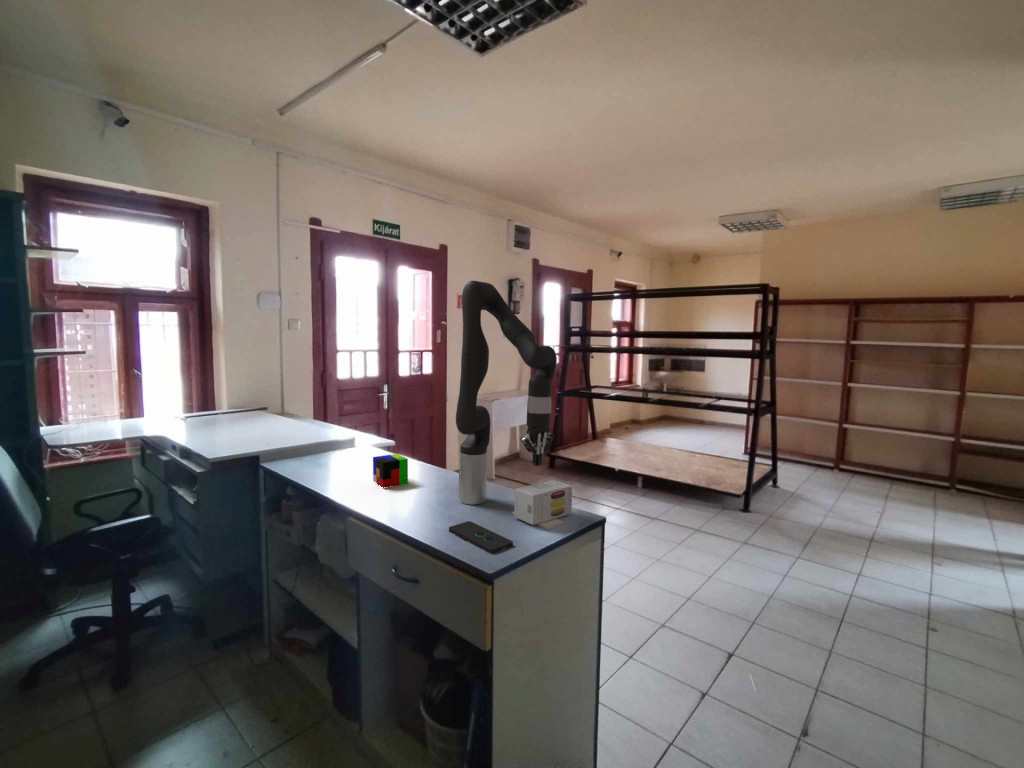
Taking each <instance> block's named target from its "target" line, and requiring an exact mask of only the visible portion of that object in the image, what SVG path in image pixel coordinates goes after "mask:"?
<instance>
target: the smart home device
mask: <svg viewBox="0 0 1024 768" xmlns="http://www.w3.org/2000/svg"><path fill="white" fill-rule="evenodd" d="M448 532H449V533H451V534H452V533H453V535H454V534H455V535H454V536H456V535H457V536H456V537H458V536H459V537H458V538H460V539H462V540H463V541H465V542H467V541H468V543H469V542H470V543H469V544H471V545H473V546H475V547H477V548H479V549H481V550H482V549H483V550H482V551H484V550H485V551H484V552H486V553H488V554H490V553H491V555H493V554H496V553H499V552H501V551H502V552H503V551H504V550H507V549H509V548H512V547H513V546H514V542H513V540H510V539H509V538H506V537H504V536H502V535H501V534H499V533H497V532H494V531H492V530H489V529H488V528H485V527H483V526H481V525H479V524H477V523H475V522H474V521H471V520H470V521H469V520H468V521H464V522H461V523H458V524H455V525H450V526H449V527H448Z"/></svg>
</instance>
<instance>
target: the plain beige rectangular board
mask: <svg viewBox="0 0 1024 768" xmlns="http://www.w3.org/2000/svg"><path fill="white" fill-rule="evenodd" d="M514 513H515V510H514V511H512V515H514ZM563 524H564V521H563V520H559V519H558V518H554V519H551V520H548V521H544V522H541V523H538V524H535V525H536V526H538V525H539V527H541V528H543V529H545V530H549V529H552V528H554V527H557V526H561V525H563Z"/></svg>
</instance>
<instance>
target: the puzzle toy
mask: <svg viewBox="0 0 1024 768" xmlns="http://www.w3.org/2000/svg"><path fill="white" fill-rule="evenodd" d="M408 461H409V458H407V457H405V456H403V455H402V454H399V453H394V454H393V453H392V454H385V455H379V456H373V457H372V477H373V478H372V482H373V481H374V482H376V483H377V484H378V485H377V484H376V483H375V484H376V485H377V486H379V485H380V486H381V487H383V488H382V489H385V488H384V487H389V488H391V487H390V486H394V487H399V485H400V486H404V485H408V483H409V475H408V474H409V472H408V470H409V469H408V468H409V467H408V466H409V462H408ZM374 482H373V483H374ZM380 486H379V487H380ZM381 487H380V488H381Z"/></svg>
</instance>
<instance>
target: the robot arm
mask: <svg viewBox="0 0 1024 768" xmlns="http://www.w3.org/2000/svg"><path fill="white" fill-rule="evenodd" d="M461 307H462V308H461V310H462V311H461V312H462V313H461V314H462V344H461V345H462V347H461V356H460V357H461V359H460V360H461V361H460V378H459V379H460V381H459V392H458V393H459V394H458V398H457V399H458V400H457V404H456V412H455V425H456V428H457V430H458V431H459V433H461V434H462V435H464V436H465V435H466V438H465V440H463V442H462V443H461V444H460V446H459V452H460V453H459V455H460V456H459V458H460V459H459V461H460V462H459V472H458V499H459V501H460V503H462V504H465V505H481V504H484V503H486V501H487V481H488V480H487V478H488V475H487V472H488V469H487V465H488V464H487V462H488V456H487V455H488V446H489V444H490V436H491V416H490V413H489V411H488V409H487V407H485V406H483V405H477V400H478V394H479V391H480V389H481V386H482V385H483V383H484V380H485V378H486V376H487V373H488V370H489V359H490V349H489V344H488V341H487V338H486V336H485V334H484V332H483V327H482V322H481V321H482V311H486V312H488V313H489V314H491V315H492V316H493V317H494V318H495V319H496V320H497V322H498V324H499V327H500V330H501V332H502V333H503V335H504V337H505V338H506V339H507V340H508V341H509V342H510V343H511V345H512V346H514V348H515V349H517V352H518V354H519V355H520V358H521V359H522V361H523V363H524V364H525V365H526V366H528V367H529V368H531V369H533V370H535V374H534V375H533V376H531V377H530V378H529V380H528V388H527V389H528V391H527V392H528V396H527V403H526V427H527V430H526V435H525V436H524V437H520V441H521V443H522V445H523V447H524V448H525V449H526V451H527V452H528V453H531V454H532V464H533V466H535V467H539V466H542V463H543V455H544V452H547V451H548V450H549V448H550V447H551V444H552V442H553V441H554V439H555V437H556V435H555V434H553V433H551V432H550V431H551V429H550V426H551V425H552V422H551V421H552V382H553V378H554V376H555V372H556V368H557V360H558V359H557V358H558V357H557V353H556V351H555V349H554V348H553V347H552V346H548V345H538V344H537V343H536V336H535V334H534V333H533V332H532V330H530V329H529V327H528V326H527V325H526V324H524V322H522V320H521V319H519V317H518V316H517V315H516V314H515V313H514V311H512V309H511V308H510V306H509V305H508V304H507V302H506V301H505V300H504V298H503V296H502V295H501V294H500V292H499V291H498V289H497V288H496V287H495V286H494V285H493V284H491V283H489V282H485V281H479V280H469V281H467V282H466V283H465V285H464V287H463V289H462V293H461Z"/></svg>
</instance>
